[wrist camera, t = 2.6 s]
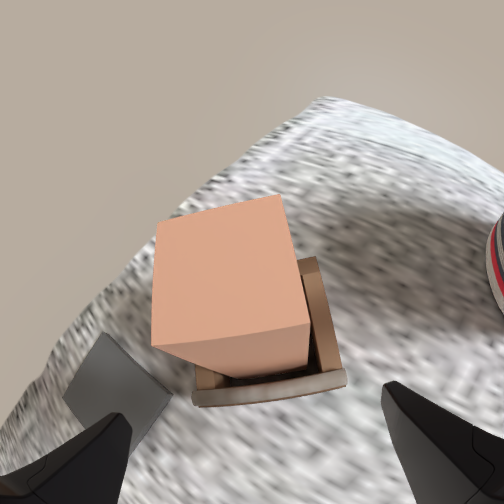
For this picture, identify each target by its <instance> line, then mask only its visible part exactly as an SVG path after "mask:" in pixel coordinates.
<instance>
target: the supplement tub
mask: <svg viewBox="0 0 504 504" xmlns="http://www.w3.org/2000/svg"><path fill="white" fill-rule="evenodd" d="M486 268H487V274H488V279H489V283H490V286H491V289H492V292H493V295H494V297H495V299H496V302H497V304H498V306H499V308H500V309H501V311H502V312H503V314H504V213H503V214H502V216H501V217H500V219H499V220H498V221H497V223H496V224H495V225H494V226H493V228H492V229H491V231H490V234H489V237H488V240H487V245H486Z"/></svg>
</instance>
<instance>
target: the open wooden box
mask: <svg viewBox="0 0 504 504" xmlns="http://www.w3.org/2000/svg"><path fill="white" fill-rule="evenodd" d="M297 264H298V269H299V273H300V277H301V282H302V286H303V291H304V295H305V300H306V304H307V309H308V314H309V318H310V331H311V336H312V341H313V346H314V351H315V357H316V362H317V367H318V373H317V374H312V375H308V376H302V377H297V378H292V379H286V380H280V381H274V382H267V383H260V384H253V385H245V386H236V387H231V383H230V376H227V375H224V374H221V373H219V372H216V371H213V370H210V369H207V368H205V367H202V366H199V365H197V364H195V372H196V385H197V391H193V392H192V402H193V405H194V406H199V408H203V407H224V406H236V405H246V404H255V403H263V402H271V401H278V400H284V399H290V398H296V397H301V396H307V395H312V394H317V393H321V392H326V391H330V390H335V389H339V388H342V387H346V385H347V375H346V371H345V369H344V368H343V369H342V364H341V359H340V354H339V349H338V345H337V340H336V336H335V331H334V327H333V322H332V318H331V314H330V310H329V306H328V302H327V298H326V294H325V290H324V286H323V282H322V278H321V274H320V270H319V267H318V263H317V259H316V256H314V257H310V258H305V259H300V260H297Z"/></svg>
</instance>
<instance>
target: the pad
mask: <svg viewBox="0 0 504 504" xmlns="http://www.w3.org/2000/svg"><path fill="white" fill-rule="evenodd" d="M172 396H173V394H172V393H171V392H169V391H168V390H167V389H166V388H165V387H164V386H162V385H161V384H160V383H159V382H158V381H157V380H155V379H154V378H153V377H152V376H151V375H150V374H149V373H148V372H147V371H145V370H144V369H143V368H142V367H141V366H140V365H139V364H138V363H137V362H136V361H135V360H134V359H133V358H132V357H131V356H130V355H129V354H128V353H127V352H126V351H125V350H124V349H123V348H122V347H121V346H120V345H119V344H118V343H117V342H116V341H115V340H114V339H113V338H112V337H111V336H110V335H109V334H107V333H105V332H102V334H101V335H100V337H99V338H98V340H97V341H96V343H95V344H94V346H93V348H92V349H91V351H90V352H89V354H88V355H87V357H86V359H85V360H84V362H83V363H82V365H81V367H80V368H79V370H78V372H77V373H76V375H75V377H74V378H73V380H72V382H71V383H70V385H69V387H68V388H67V390H66V392H65V394H64V395H63V397H62V398H63V399H64V401H65V402H66V404H67V405H68V407H69V408H70V409H71V411H72V412H73V414H74V415H75V416H76V418H77V419H78V420H79V422H80V423H81V424H82V425H83V427H84V428H85V429H87V428H89V427H90V426H92V425H93V424H95V423H96V422H98V421H99V420H101V419H102V418H103V417H105V416H106V415H108V414H109V413H111V412H120V413H122V414H123V415H124V416H125V418H126V419H127V421H128V422H129V424H130V425H131V426H132V430H133V433H132V439H131V445H130V451H129V456H130V455H131V453H132V452H133V451H134V449H135V448H136V447H137V445H138V444H139V442H140V441H141V440H142V438H143V437H144V435H145V434H146V433H147V431H148V430H149V428H150V427H151V426H152V424H153V423H154V421H155V420H156V419H157V417H158V416H159V414H160V413H161V412H162V410H163V409H164V407H165V406H166V405H167V403H168V402H169V400H170V399H171V397H172ZM128 458H129V457H128Z"/></svg>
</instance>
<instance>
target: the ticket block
mask: <svg viewBox="0 0 504 504" xmlns="http://www.w3.org/2000/svg"><path fill="white" fill-rule="evenodd" d="M309 335H310V318H309V314H308V309H307V304H306V300H305V295H304V291H303V286H302V282H301V277H300V273H299V269H298V264H297V260H296V256H295V252H294V247H293V243H292V239H291V235H290V231H289V227H288V223H287V219H286V215H285V211H284V207H283V204H282V200H281V196H280V194H277V195H273V196H268V197H263V198H258V199H253V200H249V201H244V202H240V203H235V204H231V205H226V206H222V207H218V208H213V209H209V210H205V211H201V212H197V213H193V214H189V215H185V216H181V217H177V218H173V219H169V220H165V221H162V222H158V225H157V234H156V245H155V257H154V271H153V288H152V317H151V346H153V347H155V348H158V349H160V350H162V351H165V352H167V353H169V354H172V355H174V356H176V357H179V358H181V359H184V360H186V361H189V362H191V363H194V364H197V365H199V366H202V367H205V368H207V369H210V370H213V371H216V372H219V373H221V374H224V375H227V376H230V377H233V378H236V379H239V380H243V379H251V378H259V377H266V376H272V375H278V374H284V373H290V372H295V371H301V370H306V369H307V361H308V349H309Z"/></svg>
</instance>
